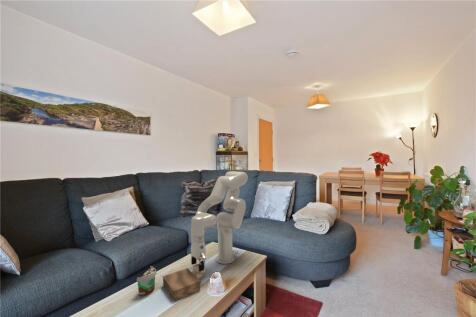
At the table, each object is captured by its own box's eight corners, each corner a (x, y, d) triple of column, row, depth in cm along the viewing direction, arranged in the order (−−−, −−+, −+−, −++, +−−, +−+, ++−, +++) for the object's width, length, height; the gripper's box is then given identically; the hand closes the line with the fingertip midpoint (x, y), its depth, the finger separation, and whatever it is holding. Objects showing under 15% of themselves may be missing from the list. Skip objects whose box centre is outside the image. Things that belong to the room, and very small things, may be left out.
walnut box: (187, 276, 131) (187, 268, 131) (200, 290, 118) (200, 280, 118) (162, 285, 123) (162, 276, 123) (173, 301, 110) (173, 291, 109)
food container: (148, 299, 112) (147, 279, 112) (137, 297, 113) (136, 277, 113) (161, 284, 124) (160, 266, 124) (151, 283, 125) (150, 265, 125)
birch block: (201, 272, 136) (200, 262, 136) (205, 276, 132) (204, 266, 131) (193, 275, 133) (193, 265, 133) (197, 279, 129) (196, 268, 129)
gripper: (211, 240, 126) (210, 271, 126) (197, 232, 140) (196, 260, 140) (198, 243, 122) (198, 275, 122) (185, 234, 136) (185, 263, 136)
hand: (197, 267), depth 131 cm, fingers open, 9 cm apart
